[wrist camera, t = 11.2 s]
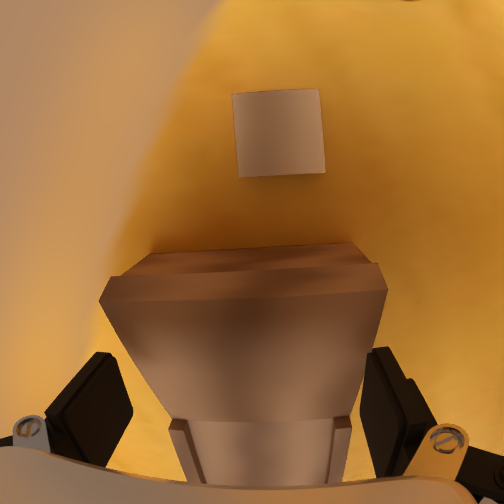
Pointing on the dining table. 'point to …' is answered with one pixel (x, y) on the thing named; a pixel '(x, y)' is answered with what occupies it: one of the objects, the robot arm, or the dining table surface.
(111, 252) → the dining table surface
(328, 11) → the dining table surface
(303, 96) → the square wooden tile
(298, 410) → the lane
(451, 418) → the dining table surface
